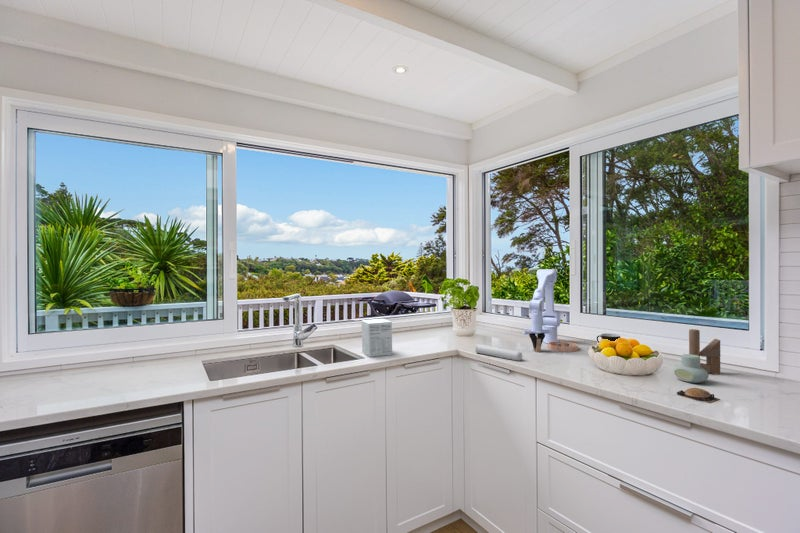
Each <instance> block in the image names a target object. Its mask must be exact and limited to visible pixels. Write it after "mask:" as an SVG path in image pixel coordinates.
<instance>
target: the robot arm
mask: <svg viewBox="0 0 800 533" xmlns="http://www.w3.org/2000/svg"><path fill="white" fill-rule="evenodd" d="M557 274H558V273H557V271H556V269H555V268H549V269H546V268H541V269H540V268H538V269H537V271H536V278H537V281H538V284H537V288H536V289H534V292H533V295H532V299H530V300H529V305H528V306H529V307H528V308H529V314H530V329H525V330H524V329H523V330H522V334H523V335H525V336H526V335H528V336H529V338H530V340H531V343H532V348H533V347H534V348H536V338H537V337H538V338H540V339H541V346H542V344H543V343H545V344H548V342H552V341H558V328H560V326H561V316H560V313H559V312H558V311H556V310H555V294H554V292H555V291H554V288H555V287H554V286H555V283H557V281H558V280H557V279H558V275H557ZM544 306H545V307H544ZM544 309H545V310H544Z"/></svg>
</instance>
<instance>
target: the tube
mask: <svg viewBox="0 0 800 533" xmlns="http://www.w3.org/2000/svg"><path fill="white" fill-rule="evenodd" d="M474 350H475V353H476V354H480V355H484V356H491V357H495V358H501V359H507V360H512V361H515V362H516V361H517V362H519V361H522V359H523V354H522V352H521V351H520V350H514V349H509V348H502V347H498V346H492V345H486V344H482V343H476V344H475V349H474Z"/></svg>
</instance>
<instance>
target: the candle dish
mask: <svg viewBox="0 0 800 533" xmlns="http://www.w3.org/2000/svg"><path fill="white" fill-rule="evenodd" d="M547 349H548V350H550V351H555V352H564V353H569V352H571V353H574V352H578V350H579V344H578V343H576V342H570V341H563V340H562V341H561V340H557V341H552V342H548V343H547Z"/></svg>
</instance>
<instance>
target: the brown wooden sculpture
mask: <svg viewBox="0 0 800 533" xmlns="http://www.w3.org/2000/svg"><path fill="white" fill-rule="evenodd" d="M688 330H689V331H688V341H689V342H688V354H692V355H697V356H699V357H700V358H701V357H703V358H704V357H705V359H706V361H705V362H706V363H704V362H703V363H702V362H700V367H701V368H703V369H705V370H706V371H707V372H708V375H709V374H711V375H721V340H720V339H717V338H713V339H712V341H710V342H709V343H708V344H707V345H705V347H703V348H702V349H700V345H701V343H700V342H701V341H700V338H701V336H700V335H701V334H700V330H699V329H697V328H696V329H693V328H691V329H690V328H689V329H688Z"/></svg>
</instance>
